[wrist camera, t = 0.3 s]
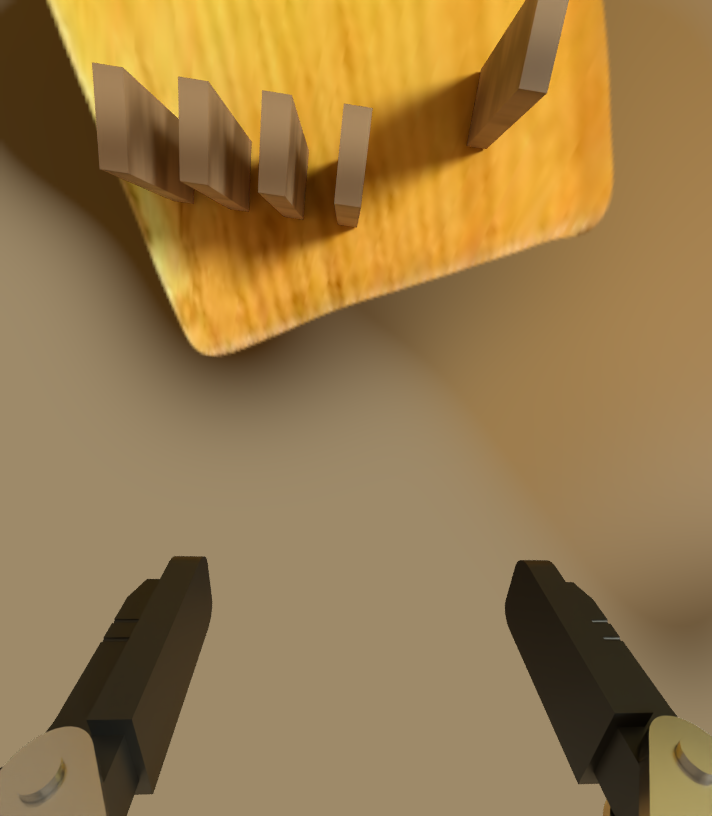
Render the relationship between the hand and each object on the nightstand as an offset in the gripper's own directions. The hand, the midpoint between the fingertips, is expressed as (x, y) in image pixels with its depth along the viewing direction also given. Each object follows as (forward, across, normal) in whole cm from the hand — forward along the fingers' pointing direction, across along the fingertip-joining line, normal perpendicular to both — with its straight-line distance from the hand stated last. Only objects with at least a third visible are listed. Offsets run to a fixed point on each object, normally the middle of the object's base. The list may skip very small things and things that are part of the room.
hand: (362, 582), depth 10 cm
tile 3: (+29, +4, -12) cm, 32 cm away
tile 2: (+29, 0, -12) cm, 31 cm away
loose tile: (+29, -10, -18) cm, 36 cm away
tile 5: (+29, +13, -13) cm, 35 cm away
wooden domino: (+29, +9, -12) cm, 33 cm away
